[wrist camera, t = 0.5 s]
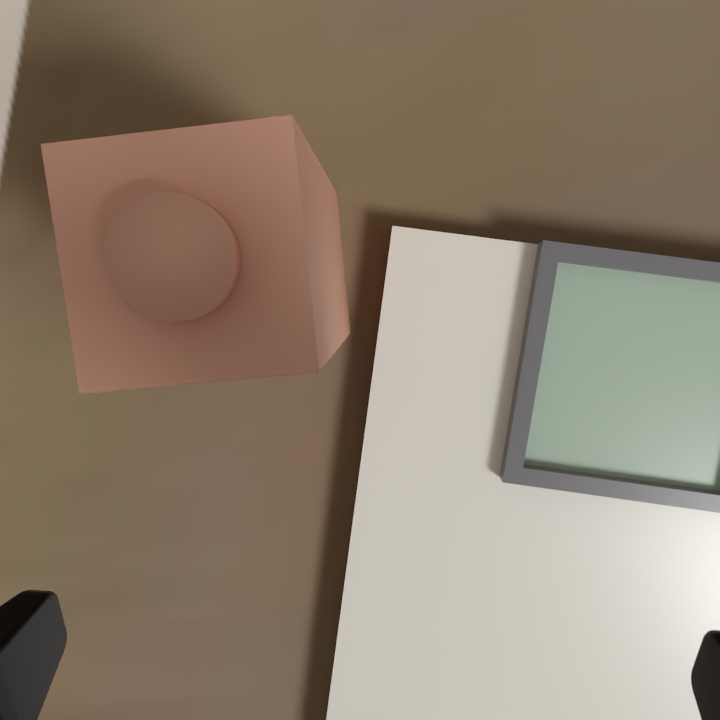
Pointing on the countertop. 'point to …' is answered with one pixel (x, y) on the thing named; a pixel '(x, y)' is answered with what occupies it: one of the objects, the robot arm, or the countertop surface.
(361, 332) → the countertop surface
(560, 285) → the build board
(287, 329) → the pillar
